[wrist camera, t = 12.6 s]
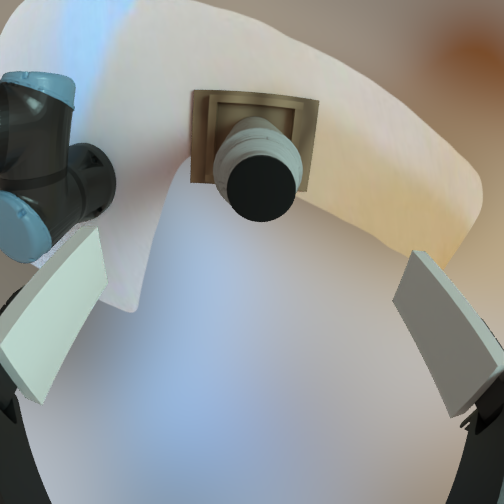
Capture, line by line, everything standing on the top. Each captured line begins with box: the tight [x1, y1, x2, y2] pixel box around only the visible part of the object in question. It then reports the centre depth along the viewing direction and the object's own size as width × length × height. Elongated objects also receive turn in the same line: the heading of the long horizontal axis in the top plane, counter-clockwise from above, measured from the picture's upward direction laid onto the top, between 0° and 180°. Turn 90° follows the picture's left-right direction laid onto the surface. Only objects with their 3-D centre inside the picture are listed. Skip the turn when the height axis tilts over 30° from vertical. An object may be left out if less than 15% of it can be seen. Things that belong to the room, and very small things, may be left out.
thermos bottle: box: [213, 116, 303, 222], centre depth 32 cm, size 8×8×28 cm
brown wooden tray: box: [190, 90, 319, 192], centre depth 43 cm, size 20×16×2 cm
